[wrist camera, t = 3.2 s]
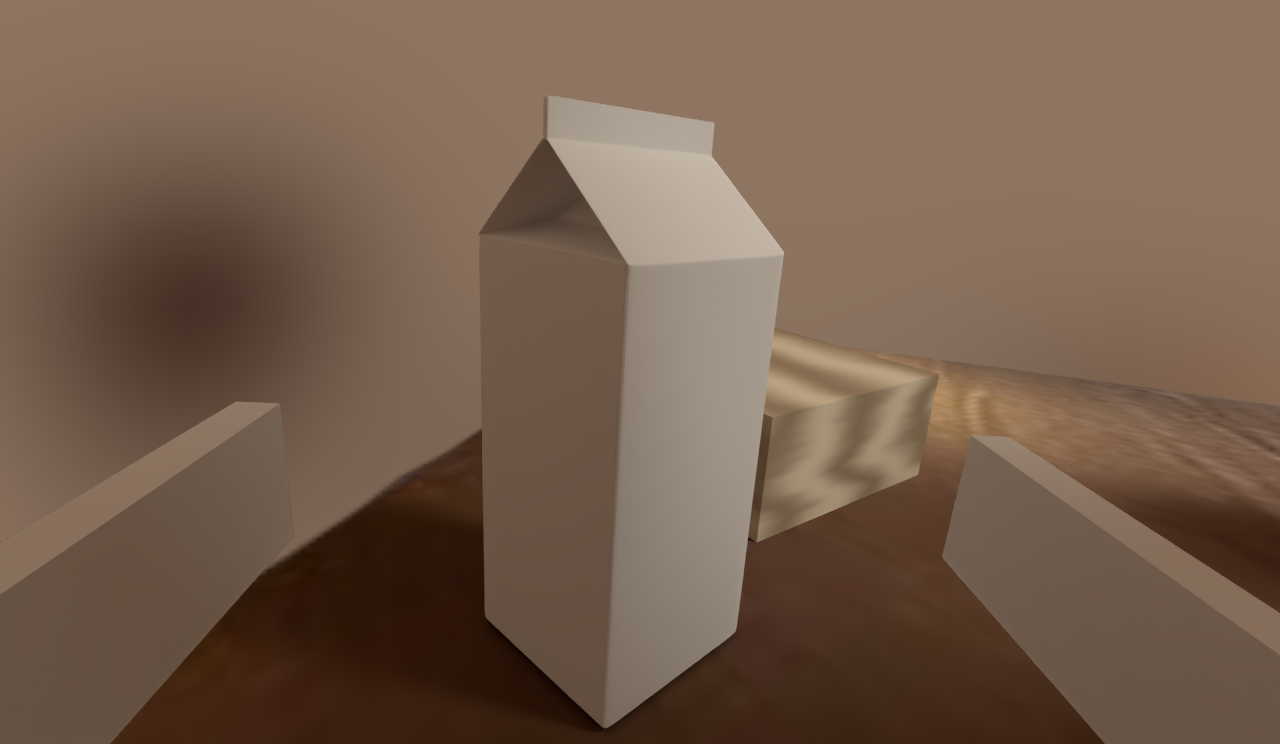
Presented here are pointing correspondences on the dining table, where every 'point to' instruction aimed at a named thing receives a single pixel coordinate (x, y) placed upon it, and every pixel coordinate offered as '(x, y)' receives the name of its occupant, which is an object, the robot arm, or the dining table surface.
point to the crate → (834, 430)
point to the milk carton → (621, 400)
